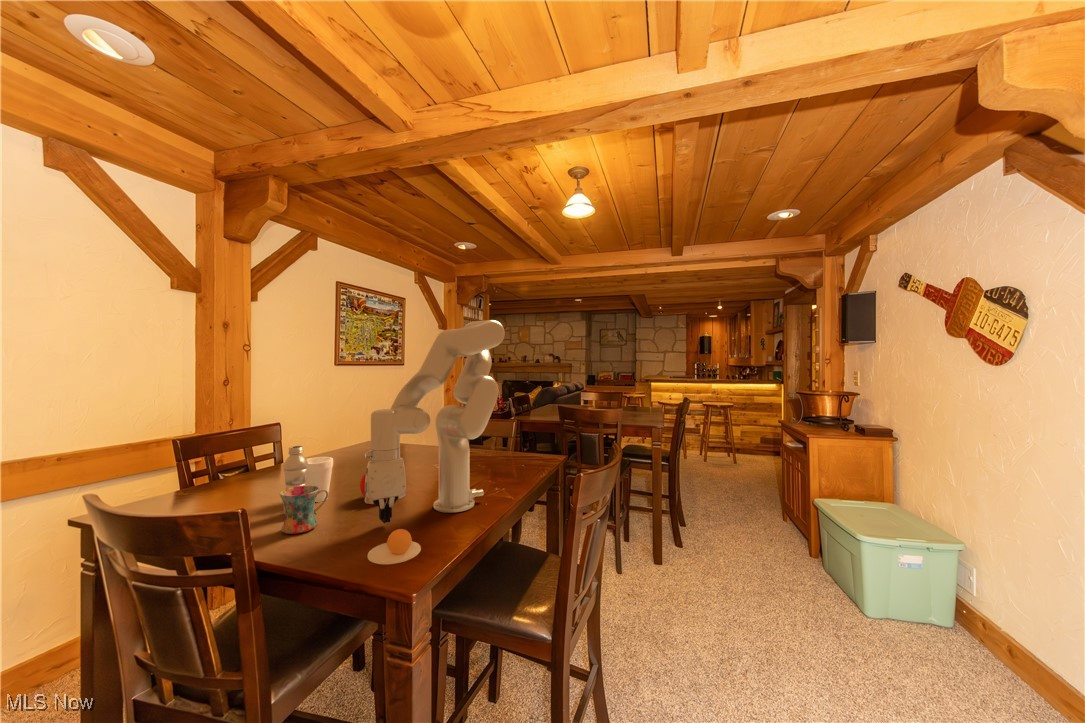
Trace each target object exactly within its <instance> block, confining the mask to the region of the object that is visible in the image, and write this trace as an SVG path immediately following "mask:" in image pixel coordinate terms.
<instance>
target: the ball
mask: <svg viewBox="0 0 1085 723" xmlns="http://www.w3.org/2000/svg"><path fill="white" fill-rule="evenodd" d="M412 541H413V538H412V534H411V532H409V531H408V530H407V529H404V528H398V529H395V530H393V531H392V532H391V533H390V534H389V536H388V538H387V540H386V543H387V546H388V549H389V550H390V551H391V552H392V553H394V554H402V553H404V552H406V551H407V550H408V549H409V547H410V545H411V542H412Z"/></svg>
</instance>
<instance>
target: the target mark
mask: <svg viewBox="0 0 1085 723" xmlns="http://www.w3.org/2000/svg"><path fill="white" fill-rule="evenodd" d="M421 551H422V546H421V545H420V543H418V542H415V541H413V540H412V542H411V545H410V547H409V549H408V550H407V551H406V552H404V553H402V554H394V553H392V552H391V551H390V550H389V549H388V546H387V542H385V543H381V544H379V545H376V546H375V547H373V548H372V549H370V550H369V551H368V553H367V560H368V561H369V562H371V563H373V564H376V565H383V566H384V565H395V564H400V563H403V562H407V561H410V560H411V559H413V558H415V557H417V556H418V555H419V554H420V553H421Z"/></svg>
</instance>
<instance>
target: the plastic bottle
mask: <svg viewBox="0 0 1085 723" xmlns="http://www.w3.org/2000/svg"><path fill="white" fill-rule="evenodd" d="M287 453H288V455H289V456H288V457H287V458H286V460H285V461H284V463H283V474H284V480H285V489H288V488H292V487H297V486H306V476H307V469H308V462H307V460H306V459H307V458H306V457H305V456H304V455H303V453H304V446H302V445H293V446H290V447H289V448H288V452H287ZM282 509H283V513H284V514H285V507H284V504H283V507H282Z"/></svg>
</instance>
